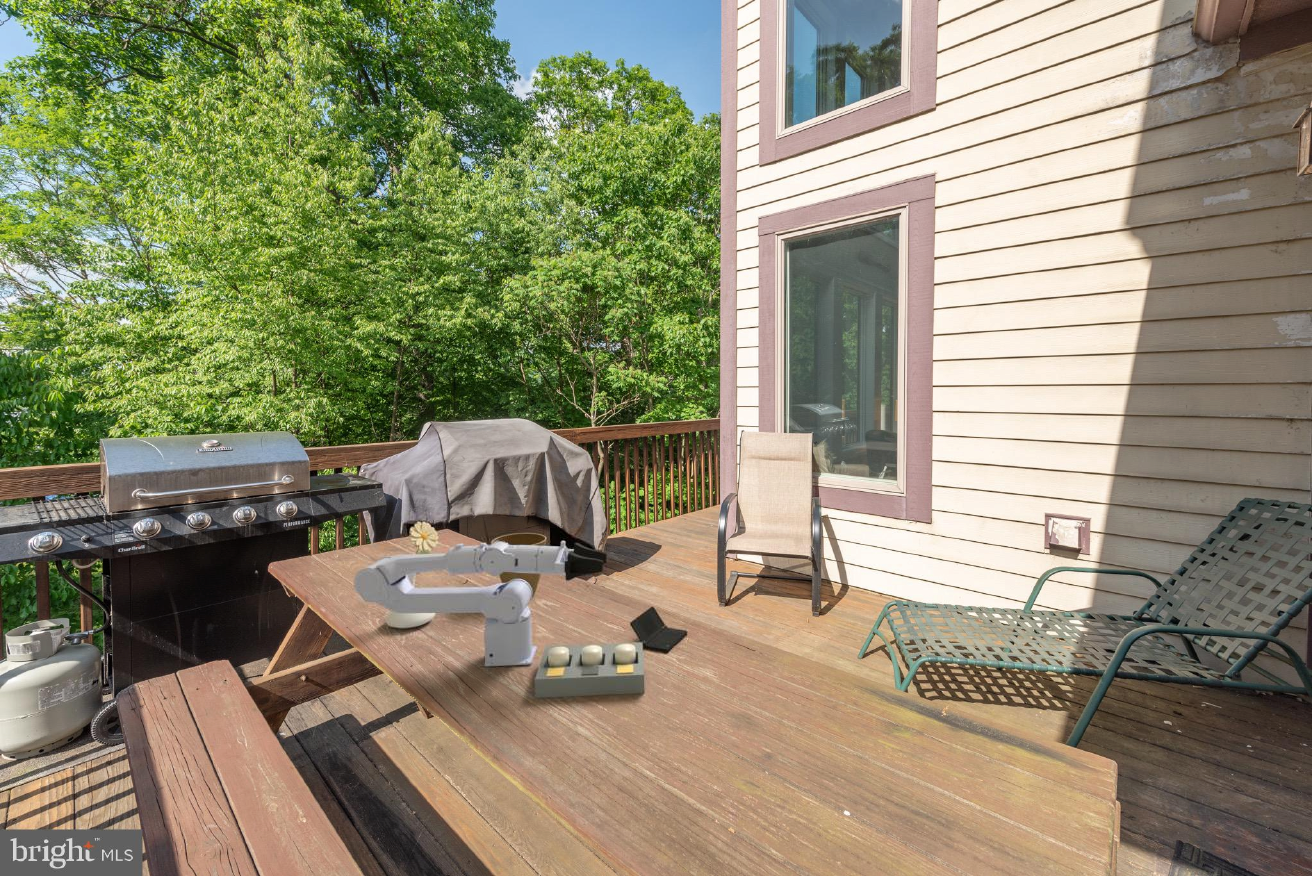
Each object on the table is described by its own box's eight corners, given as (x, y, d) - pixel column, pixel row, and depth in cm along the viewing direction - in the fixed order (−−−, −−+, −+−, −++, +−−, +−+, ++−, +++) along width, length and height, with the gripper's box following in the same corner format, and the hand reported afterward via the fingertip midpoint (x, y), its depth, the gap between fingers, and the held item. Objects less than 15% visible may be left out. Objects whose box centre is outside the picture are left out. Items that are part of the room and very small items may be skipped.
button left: (546, 671, 109) (546, 656, 109) (549, 661, 113) (549, 647, 113) (568, 670, 109) (567, 655, 109) (570, 660, 113) (569, 646, 113)
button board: (535, 698, 104) (534, 678, 104) (546, 662, 118) (545, 645, 118) (644, 693, 105) (644, 673, 105) (642, 658, 119) (642, 641, 119)
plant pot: (484, 595, 160) (482, 539, 159) (532, 583, 170) (530, 530, 169) (508, 609, 149) (506, 549, 148) (558, 595, 158) (556, 539, 157)
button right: (615, 668, 109) (614, 653, 109) (615, 659, 113) (615, 644, 113) (635, 667, 110) (635, 652, 109) (635, 658, 114) (635, 643, 113)
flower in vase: (394, 637, 133) (388, 531, 131) (379, 623, 141) (374, 523, 139) (449, 621, 141) (445, 522, 139) (433, 609, 150) (428, 515, 148)
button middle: (581, 669, 109) (580, 654, 109) (582, 660, 113) (582, 645, 113) (602, 669, 109) (601, 653, 109) (602, 659, 113) (602, 644, 113)
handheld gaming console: (677, 647, 120) (650, 606, 123) (651, 665, 122) (625, 624, 124) (690, 633, 131) (666, 596, 134) (666, 650, 133) (642, 613, 135)
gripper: (532, 547, 112) (601, 549, 112) (547, 534, 126) (608, 536, 126) (531, 583, 112) (600, 585, 112) (546, 566, 126) (607, 568, 126)
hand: (604, 562), depth 119 cm, fingers open, 7 cm apart
